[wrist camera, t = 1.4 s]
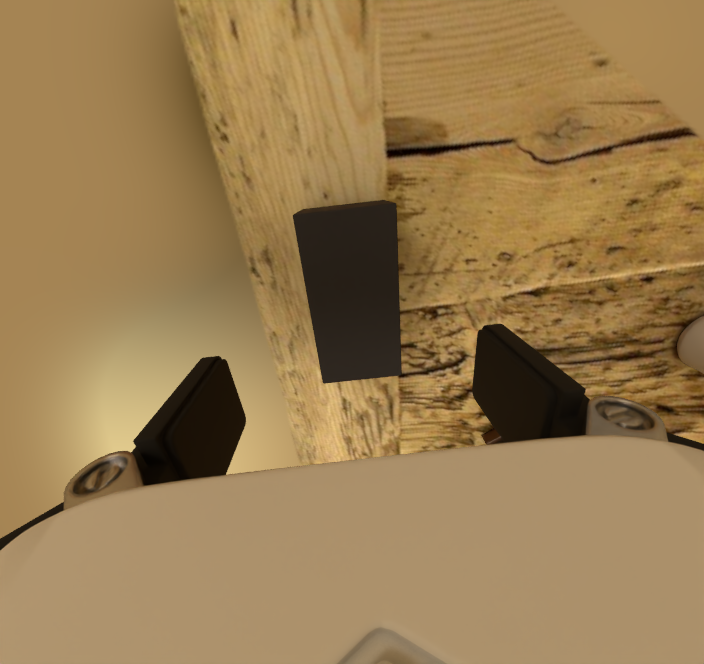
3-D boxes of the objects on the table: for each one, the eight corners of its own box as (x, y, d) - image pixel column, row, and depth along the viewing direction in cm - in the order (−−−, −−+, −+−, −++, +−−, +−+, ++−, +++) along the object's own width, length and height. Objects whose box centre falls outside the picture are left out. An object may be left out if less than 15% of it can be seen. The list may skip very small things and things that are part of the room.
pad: (302, 209, 17) (292, 214, 14) (384, 199, 17) (396, 202, 14) (325, 352, 22) (323, 384, 18) (391, 344, 22) (401, 375, 18)
